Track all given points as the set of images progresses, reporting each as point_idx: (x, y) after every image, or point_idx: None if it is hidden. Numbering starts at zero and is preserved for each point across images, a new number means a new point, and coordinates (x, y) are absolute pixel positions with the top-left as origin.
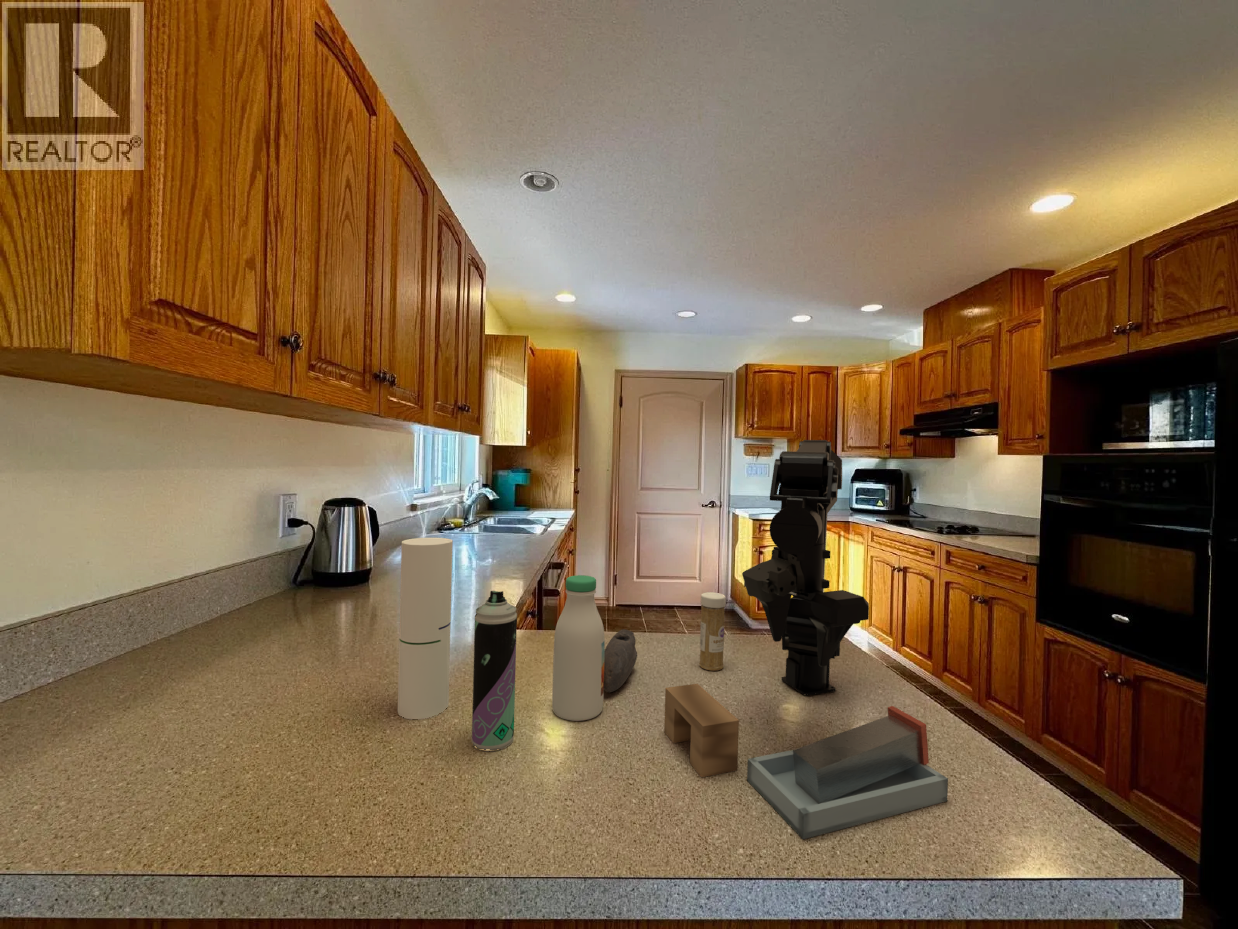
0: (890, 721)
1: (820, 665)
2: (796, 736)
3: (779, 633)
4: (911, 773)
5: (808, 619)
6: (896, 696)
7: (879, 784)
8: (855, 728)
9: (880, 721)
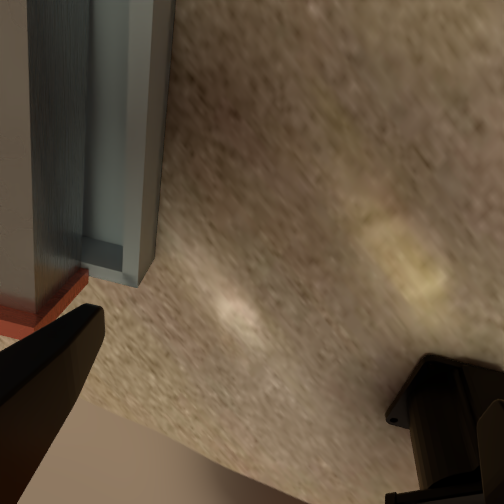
0: (11, 286)
1: (85, 304)
2: (307, 162)
3: (497, 467)
4: None
5: None
6: (291, 464)
7: None
8: (29, 183)
9: (24, 268)
